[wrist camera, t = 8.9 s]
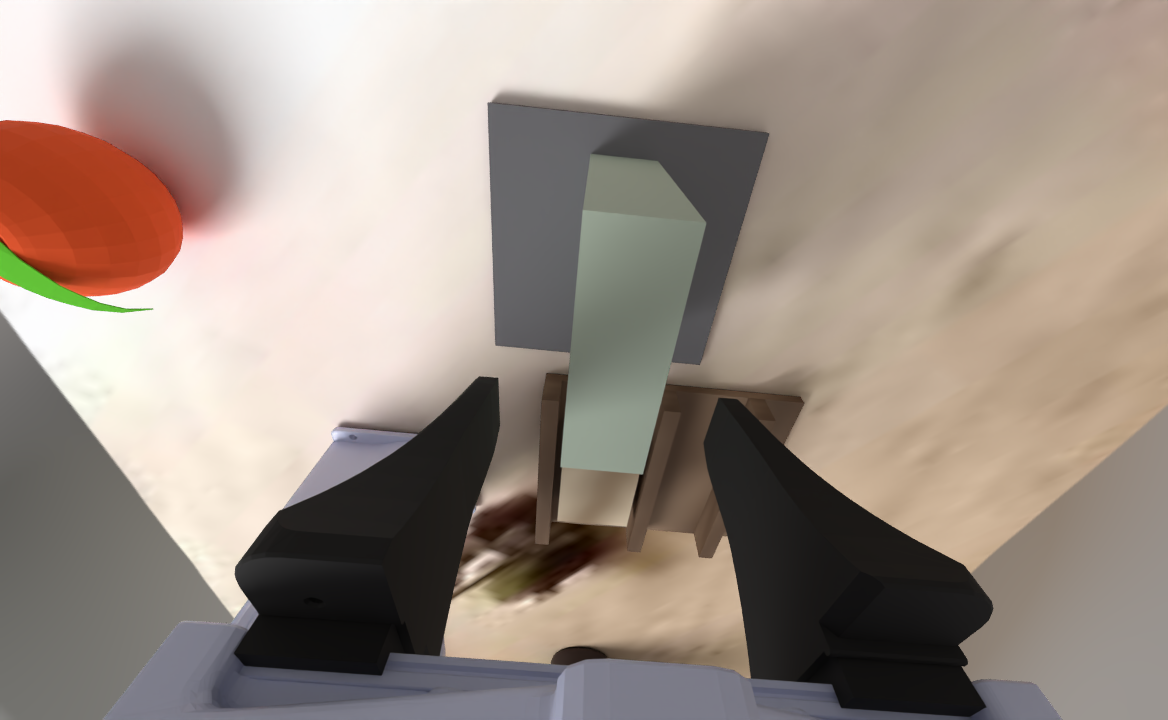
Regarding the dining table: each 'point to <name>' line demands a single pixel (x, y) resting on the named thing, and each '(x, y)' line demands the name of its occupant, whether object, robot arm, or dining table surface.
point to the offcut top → (596, 496)
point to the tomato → (80, 216)
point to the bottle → (575, 656)
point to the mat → (555, 205)
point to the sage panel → (626, 310)
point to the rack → (661, 462)
